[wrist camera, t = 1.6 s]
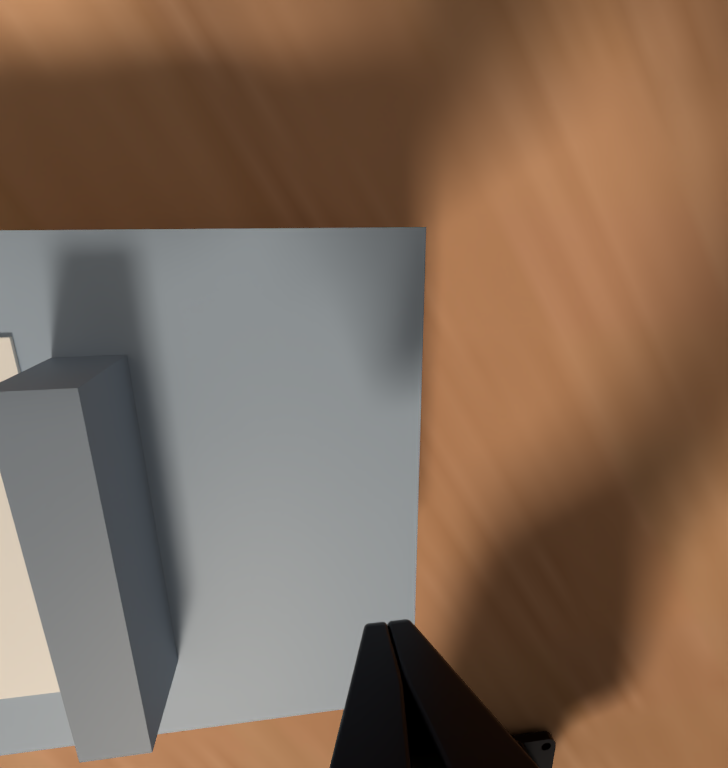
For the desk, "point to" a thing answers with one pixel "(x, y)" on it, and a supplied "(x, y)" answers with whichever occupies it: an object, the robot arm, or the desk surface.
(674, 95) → the desk surface
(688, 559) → the desk surface
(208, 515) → the lid
